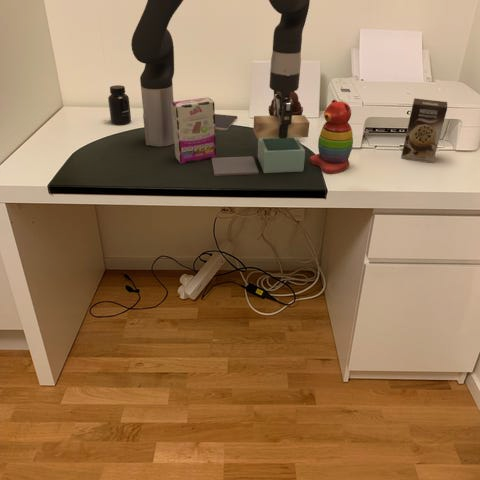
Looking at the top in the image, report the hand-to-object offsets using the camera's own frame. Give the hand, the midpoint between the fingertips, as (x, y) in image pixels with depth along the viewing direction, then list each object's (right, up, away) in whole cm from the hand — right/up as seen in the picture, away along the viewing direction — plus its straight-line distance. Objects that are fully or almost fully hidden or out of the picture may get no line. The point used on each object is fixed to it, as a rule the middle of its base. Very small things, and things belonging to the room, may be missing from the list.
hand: (280, 133), depth 128 cm
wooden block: (0, 0, 0) cm, 0 cm away
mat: (-13, -9, +3) cm, 16 cm away
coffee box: (+41, -5, +10) cm, 43 cm away
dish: (0, -8, +5) cm, 9 cm away
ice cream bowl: (+3, +4, +23) cm, 24 cm away
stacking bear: (+15, -8, +5) cm, 18 cm away
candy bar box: (-24, -5, +8) cm, 26 cm away
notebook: (-24, +12, +36) cm, 44 cm away
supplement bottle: (-52, +11, +34) cm, 63 cm away
